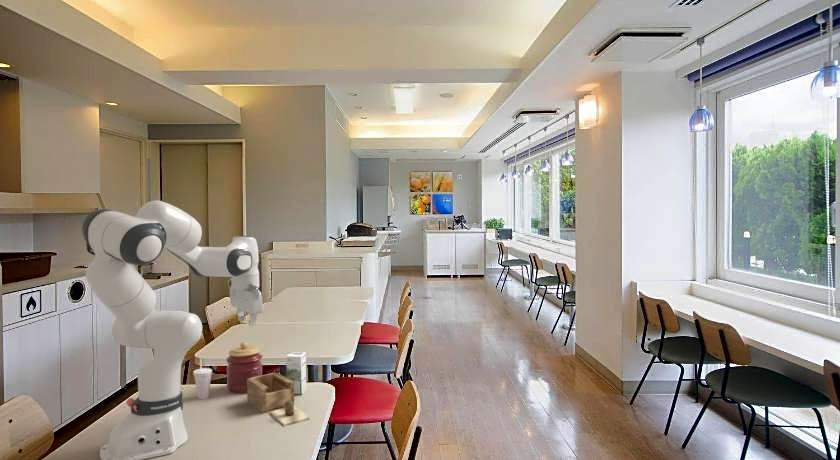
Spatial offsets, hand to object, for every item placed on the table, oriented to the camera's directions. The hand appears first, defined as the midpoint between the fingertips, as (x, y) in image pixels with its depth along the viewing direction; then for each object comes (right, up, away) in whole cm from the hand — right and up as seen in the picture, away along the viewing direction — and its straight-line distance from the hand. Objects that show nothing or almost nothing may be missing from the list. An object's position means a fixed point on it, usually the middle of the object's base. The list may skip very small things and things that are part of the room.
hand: (246, 323), depth 177 cm
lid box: (+7, -29, +4) cm, 30 cm away
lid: (+16, -30, -7) cm, 35 cm away
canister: (-7, -29, +20) cm, 35 cm away
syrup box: (+14, -29, +15) cm, 35 cm away
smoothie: (-19, -29, +11) cm, 37 cm away
